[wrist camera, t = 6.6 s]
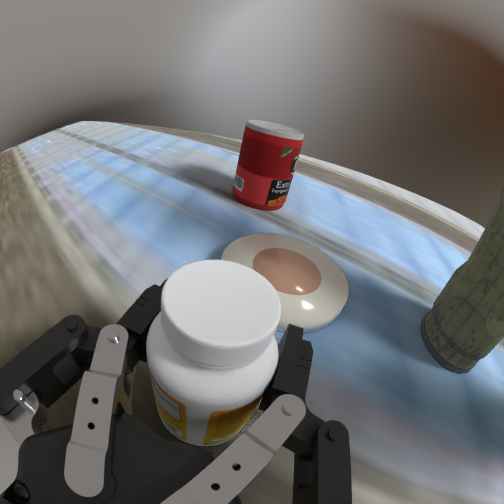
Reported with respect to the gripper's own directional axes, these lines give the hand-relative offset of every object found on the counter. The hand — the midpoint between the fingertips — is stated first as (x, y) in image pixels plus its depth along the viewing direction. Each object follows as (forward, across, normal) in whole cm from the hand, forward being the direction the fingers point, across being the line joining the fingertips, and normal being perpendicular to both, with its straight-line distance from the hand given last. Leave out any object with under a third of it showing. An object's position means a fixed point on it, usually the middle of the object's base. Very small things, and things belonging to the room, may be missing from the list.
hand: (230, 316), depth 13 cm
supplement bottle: (-3, 0, +6) cm, 7 cm away
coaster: (+12, -2, +6) cm, 13 cm away
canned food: (+28, +5, +6) cm, 29 cm away
